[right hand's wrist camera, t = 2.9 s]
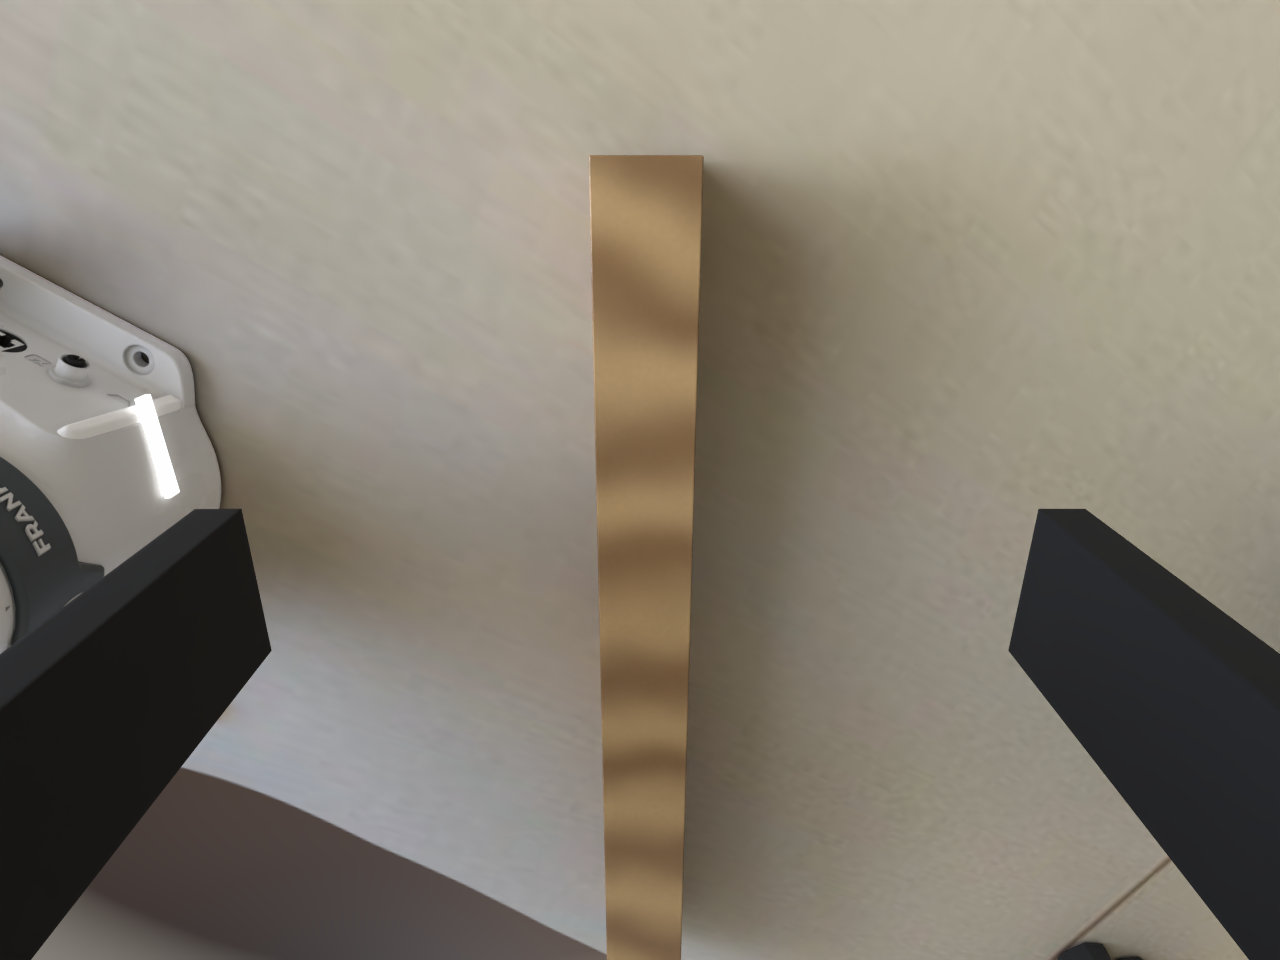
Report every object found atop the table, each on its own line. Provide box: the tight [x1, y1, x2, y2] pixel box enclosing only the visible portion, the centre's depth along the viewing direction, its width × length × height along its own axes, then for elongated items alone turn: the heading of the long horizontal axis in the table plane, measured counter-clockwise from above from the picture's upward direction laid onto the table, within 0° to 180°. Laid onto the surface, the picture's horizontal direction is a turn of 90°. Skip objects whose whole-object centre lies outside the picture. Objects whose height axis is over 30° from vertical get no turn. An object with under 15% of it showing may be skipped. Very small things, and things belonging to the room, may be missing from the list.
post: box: [589, 155, 703, 960], centre depth 46 cm, size 54×5×7 cm, turn 0°
